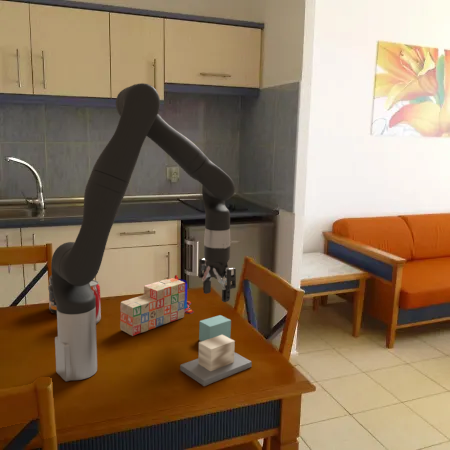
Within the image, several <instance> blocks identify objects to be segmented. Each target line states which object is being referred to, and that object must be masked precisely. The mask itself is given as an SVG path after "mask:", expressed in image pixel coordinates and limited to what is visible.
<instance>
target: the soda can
mask: <svg viewBox="0 0 450 450" xmlns="http://www.w3.org/2000/svg"><path fill="white" fill-rule="evenodd" d="M90 287H91V289H92V291H93V293H94V295H95V300H96V324H98V323H99V322H100V321H101V319H102V315H101V313H102V311H101V310H102V309H101V308H102V306H101V305H102V304H101V303H102V302H101V286H100V284H99V281H98V280H96V279H93V280H92V281H91V282H90Z"/></svg>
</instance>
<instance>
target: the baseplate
mask: <svg viewBox="0 0 450 450" xmlns="http://www.w3.org/2000/svg"><path fill="white" fill-rule="evenodd" d="M198 359H199V357H198V358H196V359H192V360H190V361H188V362H184V363H182V364H180V365H179V371H181V372H183V374H186V375H187V376H188V377H189V378H191V379H193V380H194V381H196V382H197V383H199V384H200V385H201V386H203V387H206V386H209V385H210V384H212V383H215V382H218V381H220V380H222V379H226V378H228V377H230V376H233V375H235V374H237V373H240V372H242V371H245V370H247V369H249V368H252V360H249V359H248V358H247V357H244V356H242V355H240V354H239V353H237V352H235V351H234V362H233V363H231V364H228V365H225V366H223V367H220V368H218V369H215V370H213V371H209V370H207V369H206V368H204V367H203V366H201V365H199V364H198Z"/></svg>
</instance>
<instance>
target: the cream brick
mask: <svg viewBox="0 0 450 450" xmlns="http://www.w3.org/2000/svg"><path fill="white" fill-rule="evenodd" d="M235 342H236V340H234V339H232V338H231V337H230V338H228V337H226V336H224V335H219V336H216V337H213V338H210V339H207V340H205V341H199V342H198V358H199V359H198V358H197V359H198V364H199V365H201V366H203V367H204V368H206V369H207V370H209V371H213V370H215V369H218V368H220V367H223V366H225V365H228V364H231V363H233V362H234V352H235V348H236V347H235V345H236V344H235Z"/></svg>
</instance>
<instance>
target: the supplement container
mask: <svg viewBox="0 0 450 450" xmlns="http://www.w3.org/2000/svg"><path fill="white" fill-rule="evenodd" d="M48 280H49V285H48V286H47V287H48V288H47V289H48V303H49V306H48V308H49V312H51V313H53V314H54V315H57V305H56V301H55V298H54V294H53V284H52V274H51V275H50V276H49V279H48Z"/></svg>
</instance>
